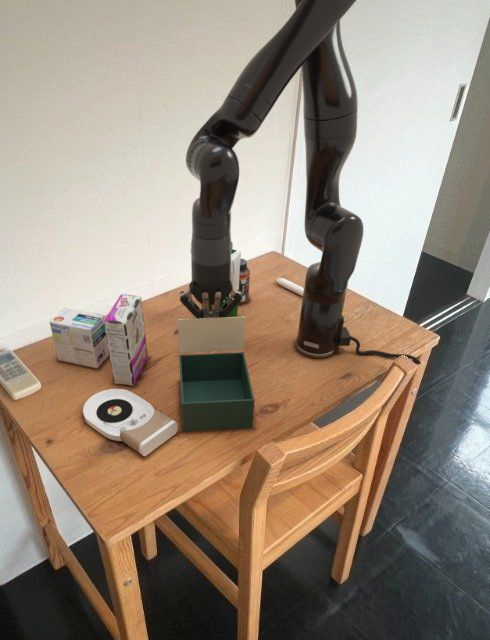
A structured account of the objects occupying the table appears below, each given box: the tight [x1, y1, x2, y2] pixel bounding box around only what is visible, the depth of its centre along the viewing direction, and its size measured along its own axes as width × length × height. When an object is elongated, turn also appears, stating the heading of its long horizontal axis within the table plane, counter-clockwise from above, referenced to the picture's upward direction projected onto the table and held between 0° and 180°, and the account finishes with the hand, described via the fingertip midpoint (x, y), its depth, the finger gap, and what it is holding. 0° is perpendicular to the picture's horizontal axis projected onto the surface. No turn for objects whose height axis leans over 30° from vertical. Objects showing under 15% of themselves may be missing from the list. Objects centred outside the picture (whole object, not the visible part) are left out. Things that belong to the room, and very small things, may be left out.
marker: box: [276, 277, 304, 297], centre depth 143 cm, size 18×2×2 cm, turn 40°
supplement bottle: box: [238, 258, 251, 305], centre depth 137 cm, size 6×6×11 cm
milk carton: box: [200, 241, 242, 317], centre depth 127 cm, size 9×9×20 cm
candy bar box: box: [104, 294, 149, 387], centre depth 112 cm, size 11×5×16 cm, turn 169°
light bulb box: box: [48, 307, 110, 369], centre depth 117 cm, size 11×7×11 cm, turn 71°
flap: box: [177, 315, 246, 354], centre depth 106 cm, size 14×8×1 cm
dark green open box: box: [178, 351, 255, 433], centre depth 106 cm, size 14×16×7 cm
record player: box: [82, 388, 179, 457], centre depth 103 cm, size 12×3×20 cm
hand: (210, 333), depth 108 cm, fingers closed
